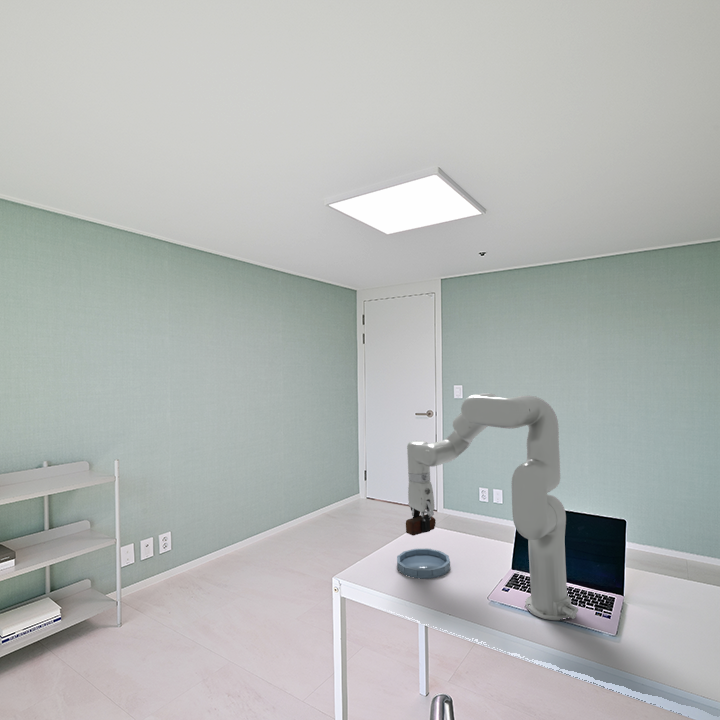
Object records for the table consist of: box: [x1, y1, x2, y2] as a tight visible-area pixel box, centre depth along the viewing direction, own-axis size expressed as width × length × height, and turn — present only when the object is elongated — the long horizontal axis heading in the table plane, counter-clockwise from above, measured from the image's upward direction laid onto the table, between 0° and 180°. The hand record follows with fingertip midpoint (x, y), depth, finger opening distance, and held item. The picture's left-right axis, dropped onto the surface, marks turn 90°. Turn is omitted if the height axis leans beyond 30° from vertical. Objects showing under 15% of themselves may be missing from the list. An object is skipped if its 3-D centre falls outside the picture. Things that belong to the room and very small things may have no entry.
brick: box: [405, 516, 436, 537], centre depth 160 cm, size 11×4×5 cm, turn 126°
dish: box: [396, 548, 451, 580], centre depth 160 cm, size 18×18×3 cm
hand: (421, 529), depth 160 cm, fingers closed on brick, 4 cm apart
